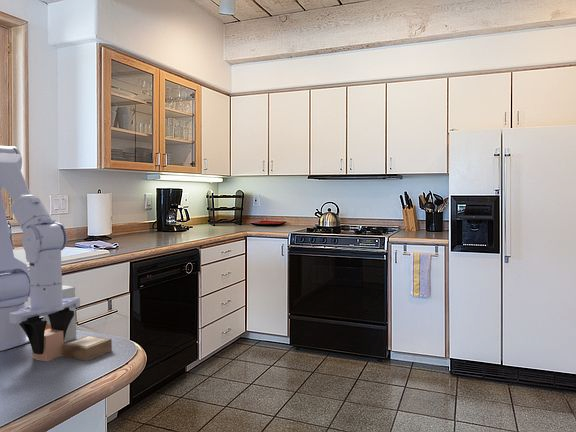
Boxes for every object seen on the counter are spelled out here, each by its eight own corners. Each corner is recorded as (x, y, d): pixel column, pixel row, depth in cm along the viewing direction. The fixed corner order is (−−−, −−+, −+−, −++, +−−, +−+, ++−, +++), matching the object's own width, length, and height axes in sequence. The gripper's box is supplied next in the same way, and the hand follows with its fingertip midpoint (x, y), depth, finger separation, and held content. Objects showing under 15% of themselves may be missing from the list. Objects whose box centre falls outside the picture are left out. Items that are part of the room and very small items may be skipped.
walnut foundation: (63, 356, 93) (63, 343, 93) (89, 346, 99) (88, 334, 99) (86, 361, 91) (86, 348, 91) (111, 350, 97) (111, 338, 97)
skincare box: (43, 339, 104) (41, 287, 104) (60, 334, 108) (58, 284, 107) (60, 343, 101) (59, 290, 101) (77, 338, 105) (76, 286, 104)
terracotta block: (32, 358, 92) (32, 334, 92) (50, 352, 96) (49, 328, 96) (46, 361, 91) (45, 336, 90) (63, 354, 94) (63, 330, 94)
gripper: (26, 292, 84) (28, 364, 85) (89, 278, 98) (91, 341, 98) (1, 289, 87) (3, 359, 88) (65, 276, 100) (67, 337, 101)
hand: (48, 349), depth 93 cm, fingers closed on terracotta block, 4 cm apart
